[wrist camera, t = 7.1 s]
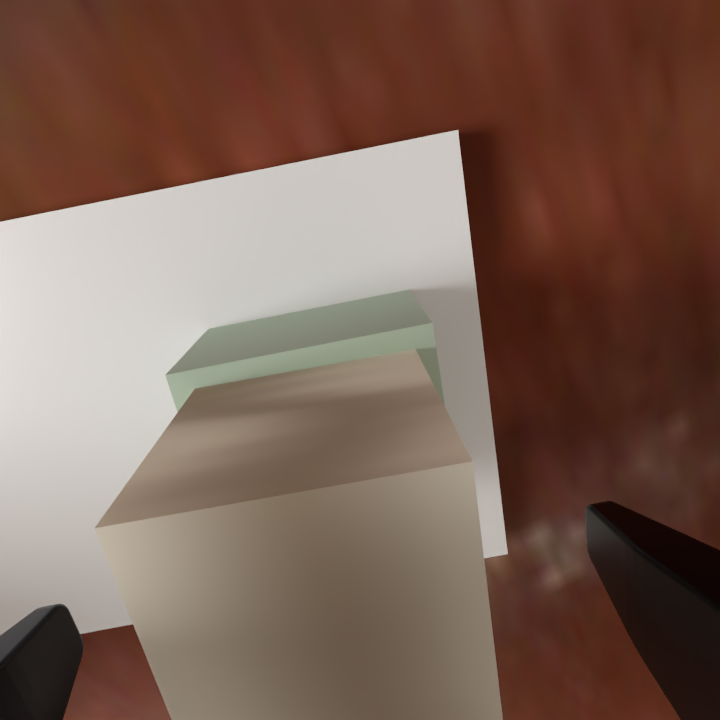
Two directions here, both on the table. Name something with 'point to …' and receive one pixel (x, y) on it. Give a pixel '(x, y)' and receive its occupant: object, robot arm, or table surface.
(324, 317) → the green block
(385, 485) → the cream block
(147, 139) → the table surface
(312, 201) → the pale grey board
